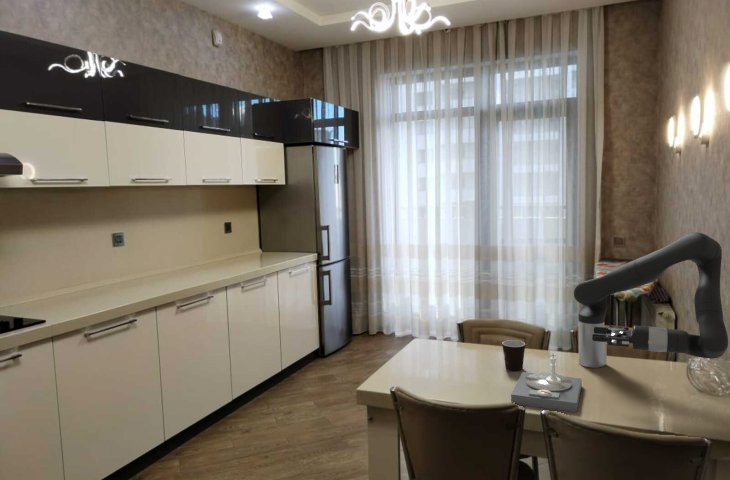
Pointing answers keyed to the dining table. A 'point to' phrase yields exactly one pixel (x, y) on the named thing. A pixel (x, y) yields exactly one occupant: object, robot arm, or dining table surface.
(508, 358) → the coffee mug
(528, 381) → the kitchen scale
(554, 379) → the chess piece
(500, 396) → the dining table surface
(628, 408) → the dining table surface
